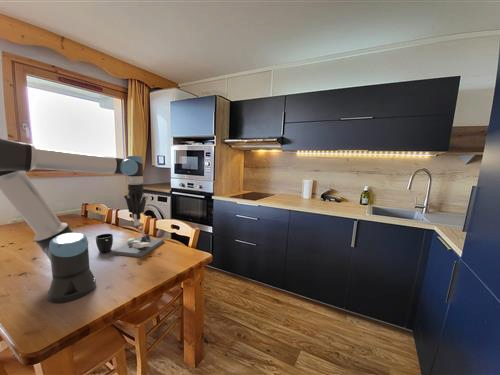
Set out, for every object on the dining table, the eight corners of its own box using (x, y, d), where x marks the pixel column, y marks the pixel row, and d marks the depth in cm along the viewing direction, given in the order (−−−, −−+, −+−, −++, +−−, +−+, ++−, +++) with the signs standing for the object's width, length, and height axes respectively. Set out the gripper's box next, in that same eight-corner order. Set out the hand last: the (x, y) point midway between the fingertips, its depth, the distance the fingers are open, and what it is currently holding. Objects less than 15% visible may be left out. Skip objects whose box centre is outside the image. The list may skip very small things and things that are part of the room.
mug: (98, 257, 115) (97, 241, 114) (95, 250, 124) (94, 235, 123) (116, 253, 121) (115, 238, 119) (112, 247, 129) (111, 232, 128)
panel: (141, 257, 117) (140, 248, 116) (112, 254, 120) (112, 246, 119) (163, 241, 140) (163, 234, 139) (139, 239, 142) (139, 232, 142)
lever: (146, 238, 135) (140, 226, 134) (142, 240, 135) (137, 227, 135) (148, 237, 137) (143, 225, 137) (145, 238, 138) (140, 226, 138)
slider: (138, 247, 125) (138, 242, 125) (132, 246, 126) (132, 241, 125) (141, 245, 127) (140, 240, 127) (135, 244, 128) (135, 240, 128)
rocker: (139, 247, 117) (140, 244, 117) (132, 247, 118) (133, 244, 118) (150, 245, 127) (151, 242, 127) (144, 244, 127) (144, 241, 128)
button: (132, 244, 128) (132, 241, 128) (125, 244, 129) (125, 240, 128) (137, 242, 132) (136, 238, 132) (130, 241, 133) (130, 237, 133)
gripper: (150, 183, 118) (151, 223, 120) (129, 182, 119) (131, 222, 122) (142, 184, 110) (143, 227, 113) (119, 183, 112) (121, 225, 115)
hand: (136, 224), depth 118 cm, fingers closed
